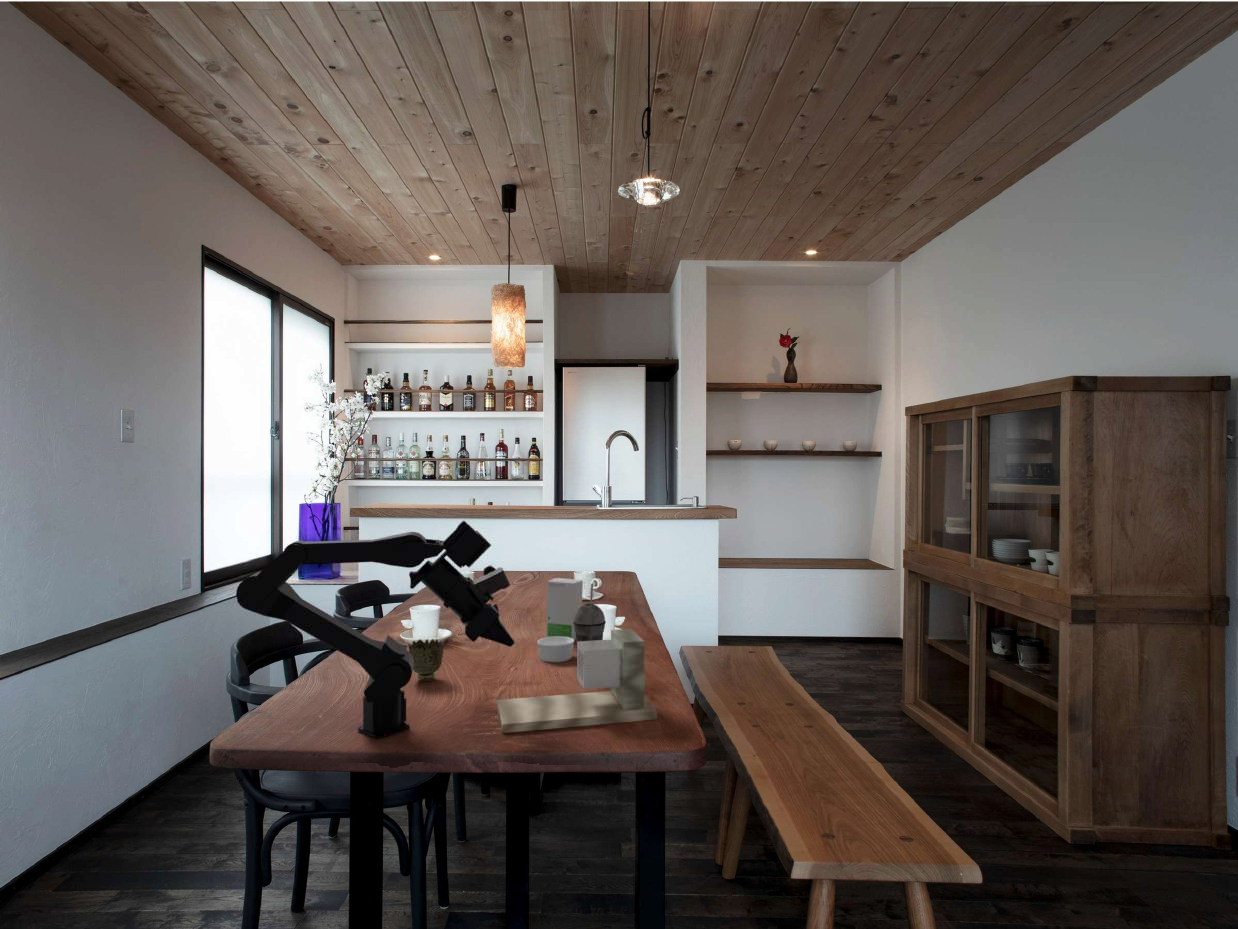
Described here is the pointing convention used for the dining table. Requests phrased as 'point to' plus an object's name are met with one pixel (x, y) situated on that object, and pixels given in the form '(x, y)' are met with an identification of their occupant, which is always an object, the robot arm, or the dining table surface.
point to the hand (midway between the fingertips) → (512, 644)
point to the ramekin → (555, 649)
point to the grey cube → (599, 664)
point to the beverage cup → (589, 622)
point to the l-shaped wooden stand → (587, 698)
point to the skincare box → (562, 606)
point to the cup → (426, 658)
